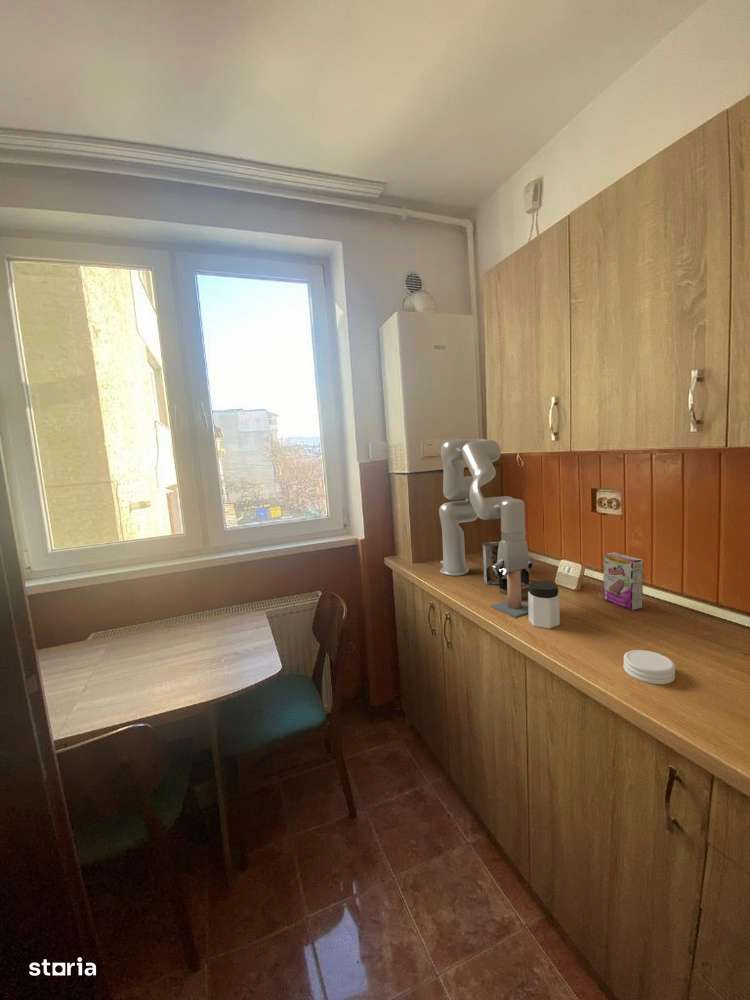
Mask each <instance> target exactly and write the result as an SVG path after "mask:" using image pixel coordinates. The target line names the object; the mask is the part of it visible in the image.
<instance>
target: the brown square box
mask: <svg viewBox="0 0 750 1000" xmlns="http://www.w3.org/2000/svg"><path fill="white" fill-rule="evenodd" d="M532 582H533V581H529V584H530V583H532ZM529 584H524V583H522V582H521V601H523V600H525V599H528V592H529ZM499 593H500V594H501V595H504V596H506V597H508V595H507V590H503V589H501V588H499Z"/></svg>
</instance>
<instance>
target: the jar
mask: <svg viewBox="0 0 750 1000" xmlns="http://www.w3.org/2000/svg"><path fill="white" fill-rule="evenodd" d="M531 582H532V583H530V584H529V592H528V598H527V601H528V602H527V604H528V621H529V622H530V624H532V626H533V627H537V628H543V629H549V630H550V629H552V628H555V627H558V626H560V625H561V622H560V615H561V614H560V594H559V587H558V585H557V583H554V582H552V581H551V582H550V581H547V580H546V581H545V580H539V581H538V580H536V581H531Z"/></svg>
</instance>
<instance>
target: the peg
mask: <svg viewBox="0 0 750 1000" xmlns="http://www.w3.org/2000/svg"><path fill="white" fill-rule="evenodd" d="M521 571H522V570H521V569H520V570H516V571H512V572H508V574H507V595H508V596H507V600H508V607H509V608H511V609H520V608H521V607H522V603H521V601H522V600H521Z"/></svg>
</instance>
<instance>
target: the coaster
mask: <svg viewBox="0 0 750 1000" xmlns="http://www.w3.org/2000/svg"><path fill="white" fill-rule="evenodd" d="M623 670H624V671H625V672H626V674H627V675H629V677H632V678H634V679H636V680H638V681H641V682H643V683H646V684H647V683H648V684H651V685H668V684H670V683H672V682H674V680H675V678H676V675H675V674H676V671H675V670H676V665H675V663H674V662H673V661H672V660H671V659H670V658H669V657H667V656H665V655H663V654H661V653H658V652H655V651H651V650H643V649H634V650H633V649H632V650H629V651H627V652H625V654H624V655H623Z"/></svg>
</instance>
